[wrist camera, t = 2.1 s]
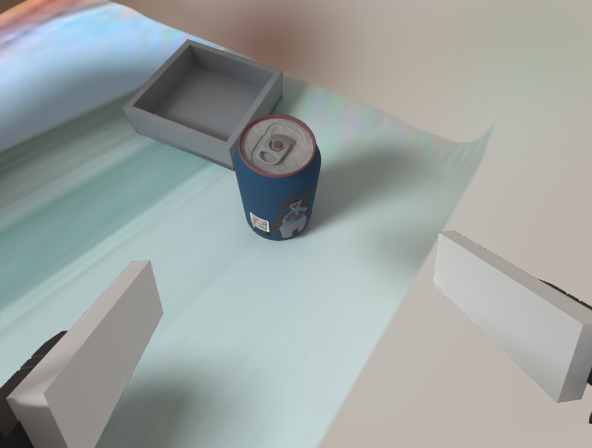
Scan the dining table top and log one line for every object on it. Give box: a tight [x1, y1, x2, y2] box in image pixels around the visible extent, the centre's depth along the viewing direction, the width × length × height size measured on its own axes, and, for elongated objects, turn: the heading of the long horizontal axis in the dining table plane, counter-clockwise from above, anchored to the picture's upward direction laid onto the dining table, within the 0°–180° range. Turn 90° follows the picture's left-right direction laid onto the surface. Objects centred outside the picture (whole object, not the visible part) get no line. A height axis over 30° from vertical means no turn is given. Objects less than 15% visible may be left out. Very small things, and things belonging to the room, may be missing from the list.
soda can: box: [233, 114, 321, 241], centre depth 27 cm, size 7×7×12 cm
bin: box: [122, 39, 282, 171], centre depth 37 cm, size 14×14×4 cm
